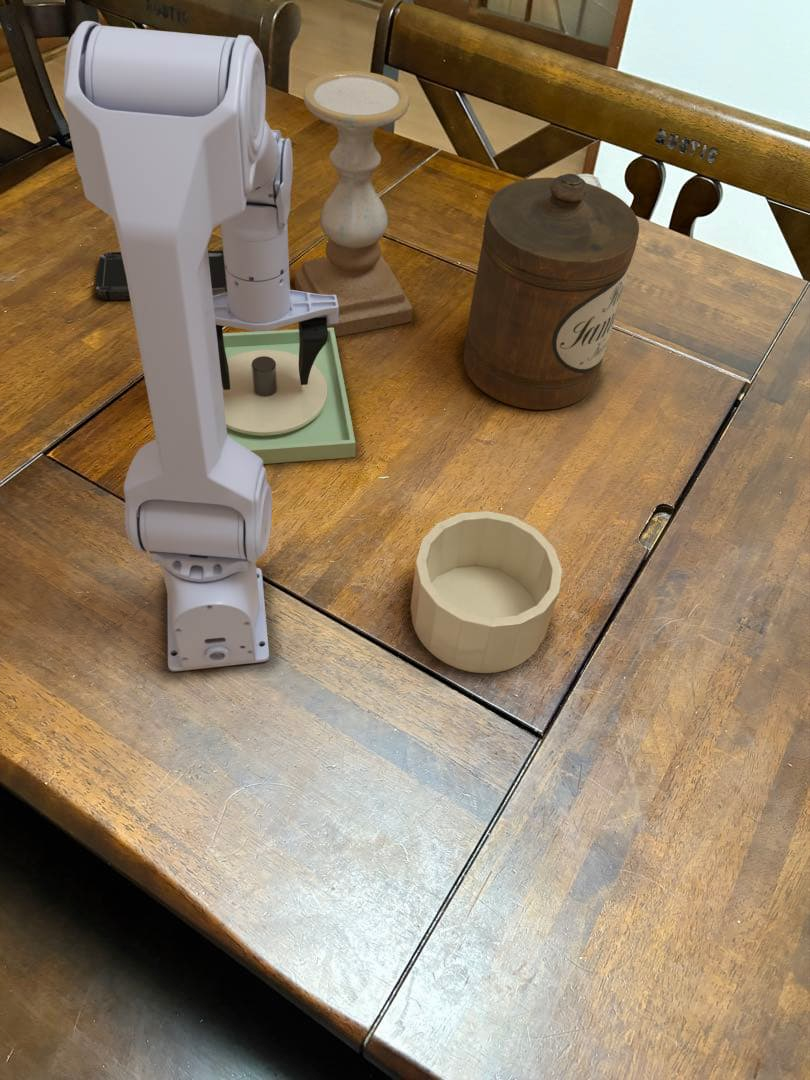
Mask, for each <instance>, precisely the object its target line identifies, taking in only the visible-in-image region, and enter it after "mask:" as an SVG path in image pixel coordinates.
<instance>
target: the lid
mask: <svg viewBox="0 0 810 1080" xmlns="http://www.w3.org/2000/svg"><path fill="white" fill-rule="evenodd" d="M227 362H228V367H229V377H230V390H224V389H223V386H222V390H223V399H224V409H225V418H226V427H227V428H229V429H231V430H234V431H237V432H240V433H244V434H250V435H261V436H265V435H278V434H283V433H287V432H291V431H294V430H296V429H299V428H301V427H303V426H305V425H306V424H308V423H310V422H311V421H312V420H314V419H315V418H316V417H317V416H318V415H319V414H320V412H321V411H322V410H323V408H324V406H325V404H326V401H327V395H328V389H327V383H326V380H325V378H324V376H323V374H322V373H321V371H320V370H319V369H318V368H317V367H316V366H315V365H314V364H313V365H312V368H311V371H310V374H309V378H308V384H307V385H301V382H300V376H299V356H298V355H295V354H292V353H288V352H283V351H277V350H257V351H250V352H245V353H241V354H238V355H235V356H232V357H230V358H228V359H227Z"/></svg>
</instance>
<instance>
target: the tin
mask: <svg viewBox="0 0 810 1080" xmlns="http://www.w3.org/2000/svg"><path fill="white" fill-rule="evenodd" d="M413 573H414V574H413V583H412V591H411V599H410V608H409V609H410V615H411V621H412V626H413V629H414V632H415V634H416V636H417V638H418V639H419V641H420V642H421V644H422V645H423V646H424V647H425V648H426V650H428V651H429V653H431V654H432V655H433V656H434V657H435V658H437V659H438V660H439V661H441V662H443V663H445V664H446V665H448V666H451V667H453V668H455V669H458V670H460V671H465V672H470V673H477V674H494V673H499V672H505V671H507V670H510V669H513V668H515V667H517V666H520V665H522V664H523V663H524V662H526V661H527V660H529V658H531V657H532V656H533V655H534V654H535V653H536V652H537V650H539V647H540V646H541V644H542V643H543V641H544V640H545V637H546V634H547V631H548V628H549V625H550V622H551V619H552V616H553V613H554V610H555V607H556V604H557V601H558V598H559V594H560V590H561V583H562V576H563V568H562V566H561V563H560V560H559V556H558V554H557V551H556V549H555V547H554V546H553V545H552V544H551V542H549V541H548V540H547V538H546V537H545V536H544V535H543V534H542V533H541V531H540V530H538V529H537V528H536V527H534V526H532V525H529V524H528V523H527V522H525V521H524V520H523V521H522V520H521V519H519V518H517V517H515V516H513V515H509V514H504V513H499V512H494V511H490V510H482V511H481V510H480V511H469V512H461V513H457V514H455V515H453V516H450V517H448V518H446V519H444V520H441V521H439V522H438V523H436V524H435V525H434V526H433V528H432V529H431V530H429V532H428V533H427V534H426V535H425V536H424V537H423V538H422V539H421V542H420V545H419V549H418V552H417V555H416V559H415V566H414V572H413Z"/></svg>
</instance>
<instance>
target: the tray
mask: <svg viewBox="0 0 810 1080" xmlns="http://www.w3.org/2000/svg"><path fill="white" fill-rule="evenodd" d="M327 329H328V338H327V342H326V344H325V345H324V346H323V348H322V349H321V350H320V352H319V353H318V355H317V357H316V359H315V361H314V363H313V364H314V365H315V366H316V367H317V368H318V369H319V370H320V371H321V373H322V374H323V376H324V378H325V380H326V383H327V389H328V395H327V401H326V404H325V406H324V408H323V410H322V411H321V412H320V414H319V415H318V416H317V417H316V418H315V419H314V420H312V421H311V422H310V423H308V424H306V425H305V426H303V427H301V428H299V429H296V430H294V431H291V432H287V433H283V434H278V435H265V436H261V435H250V434H244V433H240V432H237V431H234V430H231V429H229V428H227V427H226V428H227V435H228V436H229V437H230V438H232V439H233V440H234V441H236V442H237V443H239V444H241V445H242V446H244V447H245V448H247V449H249V450H250V451H252V452H253V453H254V454H256V455H257V456H259V457H260V458H261V459H262V460H263V465H268V464H269V465H270V464H282V463H293V462H294V463H295V462H306V461H307V462H308V461H309V462H310V461H322V460H335V459H336V460H337V459H348V458H350V459H351V458H355V457H356V448H357V447H356V445H357V444H356V437H355V432H354V427H353V422H352V416H351V411H350V406H349V401H348V396H347V395H348V394H347V390H346V384H345V380H344V375H343V370H342V364H341V358H340V354H339V348H338V342H337V338H336V337H335V332H334V328H327ZM223 339H224V348H225V353H226V357H227V359H228V358H230V357H232V356H235V355H238V354H241V353H245V352H250V351H257V350H277V351H283V352H288V353H292V354H295V355H298V356H299V345H300V340H299V328H298V329H281V330H280V329H278V330H277V329H276V330H268V331H241V332H239V331H238V332H223Z"/></svg>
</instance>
